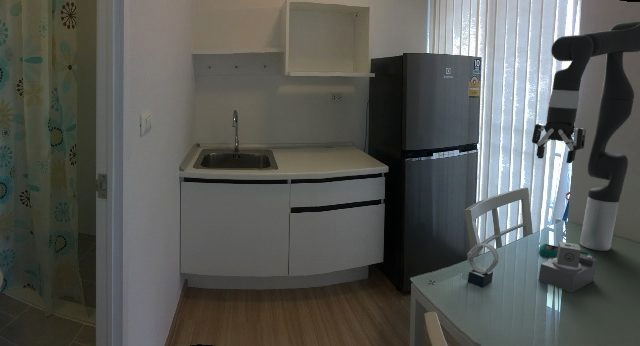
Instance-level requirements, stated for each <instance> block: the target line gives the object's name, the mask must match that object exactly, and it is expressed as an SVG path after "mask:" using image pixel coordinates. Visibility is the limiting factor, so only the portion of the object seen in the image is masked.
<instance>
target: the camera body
mask: <svg viewBox="0 0 640 346" xmlns="http://www.w3.org/2000/svg"><path fill="white" fill-rule="evenodd" d="M597 263H598V258H594V257H593V256H585V255H582V254H580V260H579V265H578V268H577V267H571V266H566V265H561V264H557V257H556V258H550V259H549V260H546V261H545V262H541V263H540V268H539V275H538V279H537V280H538V282H542V283H544V284H547V285H550V286H552V287H555V288H557V289H560V290H564V291H565V292H568V293H575V292H576V291H578V290H579V289H581V288H584V287H585V286H586V285H588V284H591V283H593V282H594V280H595V275H596V268H597Z"/></svg>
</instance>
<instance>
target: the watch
mask: <svg viewBox="0 0 640 346" xmlns="http://www.w3.org/2000/svg"><path fill="white" fill-rule="evenodd" d="M483 248H486V249H487V250H489V251H490V252H491V254H492V256H493V260H492V263H490V266H489V267H488V268H484V267H480V266H477V264H476V263H475V261H474V258H475V257H476V256H477V255H478V254H480V253H481V251H482V250H483ZM466 256H467V262H468V264H469V266H470V268H471V269H472V270H470V271H468V276H467V277H468V278H467V283H468V284H471V285H475V286H477V287H480V288H481V289H483V288H484V287H486V286H488V285H489V284H491V283H492V282H493V274H494V271H492V270H494V269H495V267H496V266H497V265H498V264H499V253H498V252H497V249H496V248H495V247H494V246H492V245H491V244H489V243H486V242H482V243H481V242H478V243H476V244H475V245H474V246H473V247H471V249H470V250H469V251H468V252H467V254H466Z"/></svg>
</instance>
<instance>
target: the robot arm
mask: <svg viewBox="0 0 640 346" xmlns="http://www.w3.org/2000/svg"><path fill="white" fill-rule="evenodd" d="M550 51H551V55H552V57H553V58H554V59H555V60H557V61H560V62H570V64H569V65H568V67H566V68H563V69H559V70H557V71H556V72H555V73H554V76H553V83H552V88H551V92H550V97H549V101H548V108H547V115H546V124H542V123H535V124H534V129H533V134H532V139H531V142H532V144H535V145H537V147H536V148H537V149H536V156H537V158H538V159H540V160H541V159H543V158H544V156H545V150H546V146H545V145H546V144H547V143H548V142H549V141H559V142H563V143H564V144H565V145H566V146H567V149H568V151H567V156H566V164H572V163H573V162H575V159H576V154H577V153H576V152H577V151H578V150H583V149H584V148H585V141H586V133H587V132H586V131H587V130H586V128H584V127H583V128H581V127H580V128H576V127H575V123H576V120H577V119H576V118H577V114H578V105H579V100H580V87H581V83H582V77H583V75H584V73H585V70H586V67H587V65H588V64H589V61H590V59H591V58H592V57H598V56H602V55H605V56H606V57H605V68H604V77H603V78H604V79H603V84H602V89H601V95H600V100H599V104H598V105H599V106H598V114H597V121H596V129H595V133H594V137H593V141H592V146H591V149H590V153H589V159H588V163H587V174H588V175H589V177H591V178H596V179H600V180H605V181H606V180H607V181H608V184H607V185H605V186H601V187H600V186H599V187H592V188H590V189H589V190H588V194H587V201H586V207H585V211H584V218H583V223H582V229H581V232H580V240H579V245H580V246H582V247H584V248H586V249H590V250H594V251H600V252H605V251H606V252H607V251H611V246H612V239H613V235H614V229H615V224H616V218H617V214H618V210H619V208H618V207H619V204H620V199H621V195H622V191H623V188H624V182H625V178H626V174H627V170H628V165H629V160H628V157H627V155H625V154H620V153H615V152H608V151H607V152H606V149H607V145H608V142H610V141H609V140H610V139H611V138H612V136H613V135H614V134H615V133H616V132H617V131H618V130H619V129H620V128H621V127H622V126H623V124H624V123H626V121H627V120H628V119H629V118H630V116H631V115H632V111H633V105H634V99H635V91H634V89H633V87H632V84H631V83H630V80H629V78H628V76H627V74H626V71H625V69H624V66H623V65H624V60H623V58H624V57H623V56H624V53H639V52H640V21H632V22H631V21H630V22H617V23H615V24H614V25H612V26H611V28H610V29H609V30H601V31H594V32H593V31H592V32H588V33H583V34H578V35H577V34H576V35H574V34H573V35H566V36H565V35H564V36H560V37H558V38H557V39H556V40H554V42H553V44H552V45H551V49H550ZM543 131H544V132H545V134H544V135H543V136H542V132H543ZM574 134H575V136H576V142H575V139H574V138H573V136H572V135H574ZM541 136H542V137H541Z"/></svg>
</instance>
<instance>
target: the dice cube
mask: <svg viewBox="0 0 640 346" xmlns="http://www.w3.org/2000/svg"><path fill="white" fill-rule="evenodd" d="M581 251H582V248H581V244H578V243H572V242H565V241H559V242H558V252H557V264H561V265H566V266H571V267H577V268H578V265H579V260H580V254H581Z"/></svg>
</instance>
